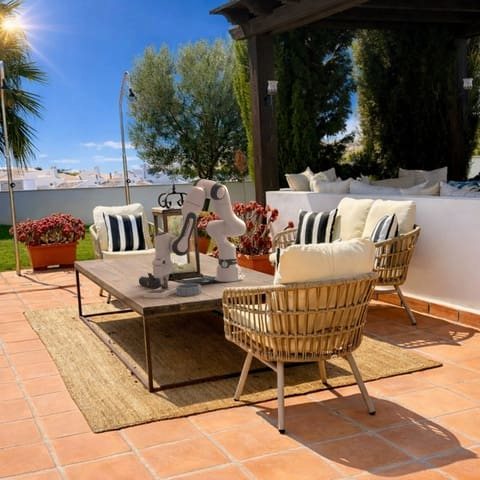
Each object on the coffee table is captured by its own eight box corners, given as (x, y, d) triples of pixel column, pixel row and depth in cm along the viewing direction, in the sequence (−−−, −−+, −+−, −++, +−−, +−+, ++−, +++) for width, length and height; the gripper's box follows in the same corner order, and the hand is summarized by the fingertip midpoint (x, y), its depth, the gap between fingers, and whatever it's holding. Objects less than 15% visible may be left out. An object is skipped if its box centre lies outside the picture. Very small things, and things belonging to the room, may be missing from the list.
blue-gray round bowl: (182, 291, 372) (182, 283, 372) (204, 291, 368) (203, 283, 367) (172, 295, 359) (172, 288, 358) (195, 296, 355) (195, 288, 354)
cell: (163, 287, 373) (162, 275, 372) (169, 287, 372) (168, 275, 371) (160, 288, 369) (159, 276, 368) (166, 289, 368) (165, 276, 367)
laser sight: (148, 284, 401) (148, 269, 400) (170, 288, 385) (169, 272, 384) (136, 286, 394) (135, 271, 393) (157, 290, 378) (156, 274, 377)
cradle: (160, 290, 378) (159, 285, 377) (178, 290, 374) (178, 285, 374) (144, 297, 358) (144, 292, 358) (163, 297, 354) (163, 292, 354)
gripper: (165, 257, 379) (167, 279, 381) (150, 262, 360) (152, 286, 362) (175, 257, 377) (176, 279, 379) (160, 262, 358) (162, 286, 360)
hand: (164, 283), depth 370 cm, fingers closed on cell, 4 cm apart
